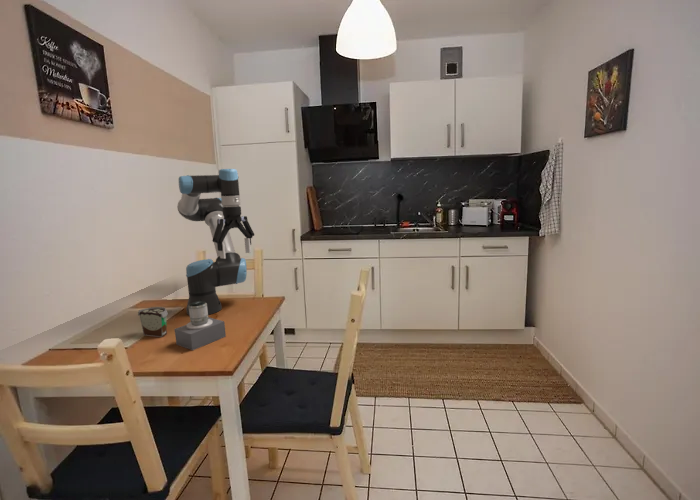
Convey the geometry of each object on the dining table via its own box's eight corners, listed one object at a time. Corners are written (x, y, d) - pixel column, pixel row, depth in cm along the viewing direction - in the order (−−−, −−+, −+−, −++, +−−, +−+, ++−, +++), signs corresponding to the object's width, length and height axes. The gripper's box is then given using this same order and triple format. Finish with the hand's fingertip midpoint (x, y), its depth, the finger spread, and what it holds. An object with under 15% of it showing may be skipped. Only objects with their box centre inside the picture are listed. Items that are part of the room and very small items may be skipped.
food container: (177, 331, 150) (174, 307, 149) (165, 337, 145) (162, 312, 143) (153, 329, 154) (150, 305, 153) (140, 334, 149) (137, 310, 147)
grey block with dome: (175, 344, 138) (172, 326, 137) (208, 331, 149) (206, 314, 148) (192, 350, 132) (190, 332, 131) (225, 336, 143) (224, 319, 142)
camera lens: (212, 321, 141) (210, 300, 139) (199, 327, 135) (197, 306, 134) (199, 319, 143) (197, 299, 142) (186, 324, 138) (184, 304, 136)
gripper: (211, 208, 147) (217, 261, 151) (259, 204, 168) (263, 251, 171) (200, 208, 152) (205, 260, 155) (248, 204, 172) (252, 250, 175)
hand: (236, 255), depth 163 cm, fingers open, 13 cm apart
